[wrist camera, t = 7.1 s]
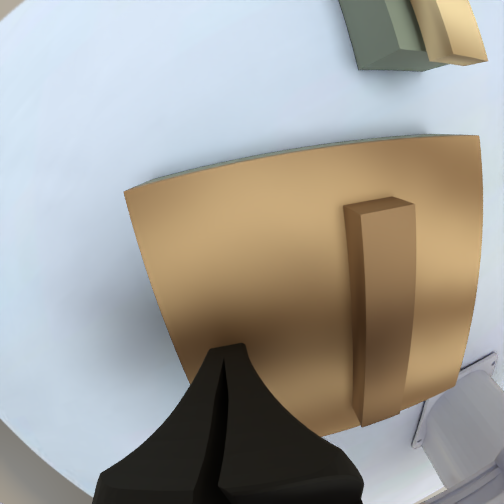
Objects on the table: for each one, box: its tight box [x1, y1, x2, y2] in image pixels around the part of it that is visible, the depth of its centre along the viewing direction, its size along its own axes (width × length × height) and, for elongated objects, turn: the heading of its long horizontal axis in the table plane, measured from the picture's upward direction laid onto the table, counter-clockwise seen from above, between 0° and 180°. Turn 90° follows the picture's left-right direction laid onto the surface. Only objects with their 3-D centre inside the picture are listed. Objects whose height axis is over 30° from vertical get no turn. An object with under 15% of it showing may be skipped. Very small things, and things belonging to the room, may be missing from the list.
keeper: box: [339, 0, 448, 72], centre depth 9 cm, size 5×4×4 cm
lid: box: [124, 135, 483, 437], centre depth 11 cm, size 14×14×2 cm
